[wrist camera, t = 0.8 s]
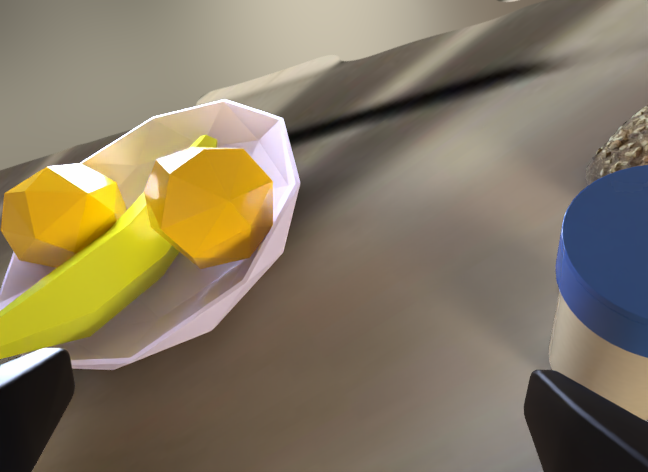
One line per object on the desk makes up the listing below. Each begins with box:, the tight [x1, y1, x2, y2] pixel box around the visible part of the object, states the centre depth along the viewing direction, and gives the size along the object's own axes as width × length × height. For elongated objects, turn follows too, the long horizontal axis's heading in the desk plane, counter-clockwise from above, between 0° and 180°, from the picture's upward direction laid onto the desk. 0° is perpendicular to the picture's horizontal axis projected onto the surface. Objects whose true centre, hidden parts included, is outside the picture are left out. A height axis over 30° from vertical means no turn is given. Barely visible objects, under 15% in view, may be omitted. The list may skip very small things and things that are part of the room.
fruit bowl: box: [0, 99, 300, 370], centre depth 35 cm, size 28×27×11 cm
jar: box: [548, 291, 648, 420], centre depth 19 cm, size 6×6×11 cm
